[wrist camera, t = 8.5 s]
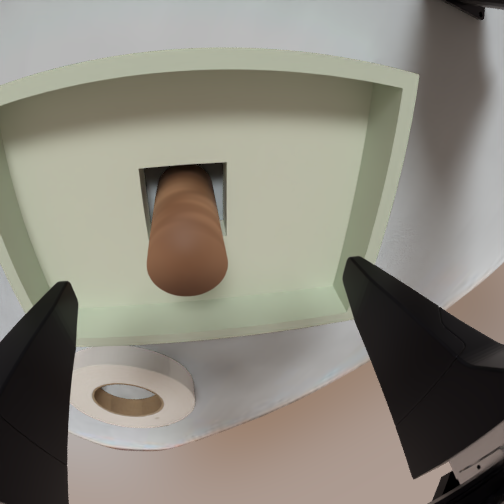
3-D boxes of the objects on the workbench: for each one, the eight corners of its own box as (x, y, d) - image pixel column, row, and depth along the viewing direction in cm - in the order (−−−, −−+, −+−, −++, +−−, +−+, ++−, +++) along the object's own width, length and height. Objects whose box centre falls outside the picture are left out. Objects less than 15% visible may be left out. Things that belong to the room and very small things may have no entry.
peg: (212, 161, 19) (227, 228, 13) (213, 210, 21) (228, 293, 15) (154, 165, 19) (140, 235, 12) (160, 215, 21) (153, 299, 15)
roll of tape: (45, 376, 30) (41, 395, 28) (111, 320, 26) (108, 345, 24) (141, 419, 39) (141, 436, 36) (221, 381, 35) (224, 402, 33)
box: (372, 63, 17) (419, 74, 13) (332, 277, 27) (355, 319, 24) (-2, 86, 13) (-46, 104, 9) (59, 301, 23) (45, 346, 19)
